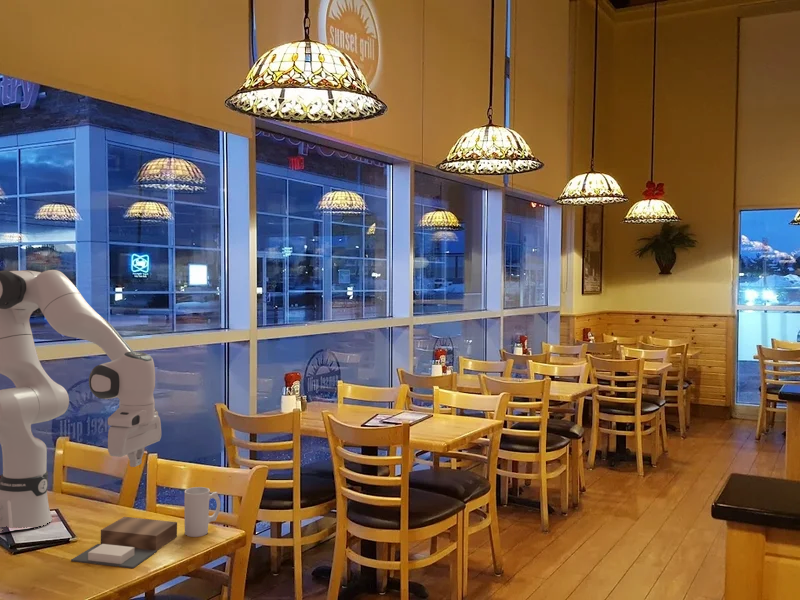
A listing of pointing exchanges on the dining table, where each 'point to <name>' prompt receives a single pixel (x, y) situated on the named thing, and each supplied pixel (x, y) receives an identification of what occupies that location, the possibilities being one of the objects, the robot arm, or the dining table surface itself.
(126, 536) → the riser board
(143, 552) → the bar mat
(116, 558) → the grey flat block
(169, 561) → the dining table surface
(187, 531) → the mug
